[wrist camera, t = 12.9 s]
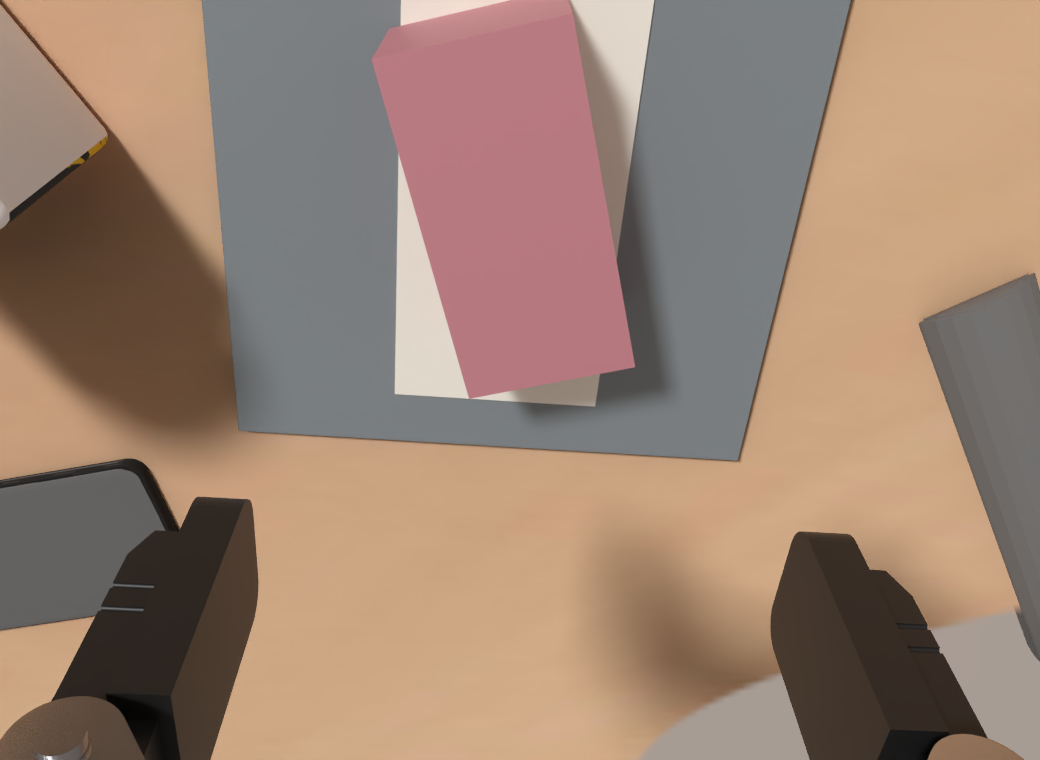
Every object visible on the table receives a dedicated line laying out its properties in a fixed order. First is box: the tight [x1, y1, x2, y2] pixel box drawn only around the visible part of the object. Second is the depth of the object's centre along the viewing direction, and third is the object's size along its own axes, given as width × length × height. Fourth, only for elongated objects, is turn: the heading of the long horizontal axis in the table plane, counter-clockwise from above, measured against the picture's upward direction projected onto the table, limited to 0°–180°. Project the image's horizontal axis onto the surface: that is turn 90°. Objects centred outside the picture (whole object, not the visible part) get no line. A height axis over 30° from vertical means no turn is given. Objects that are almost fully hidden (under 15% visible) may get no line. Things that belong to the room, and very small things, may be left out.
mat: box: [202, 0, 851, 461], centre depth 29 cm, size 18×20×1 cm
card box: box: [372, 0, 635, 399], centre depth 27 cm, size 10×5×4 cm, turn 12°
